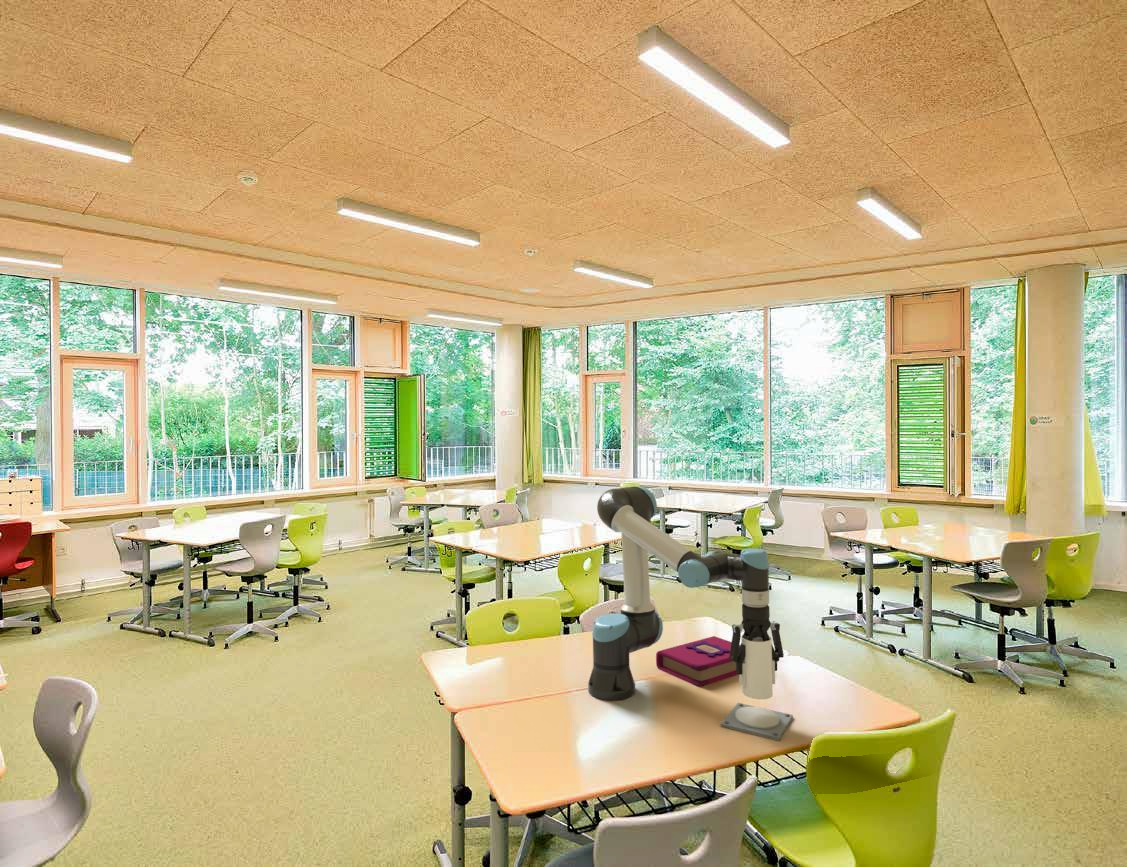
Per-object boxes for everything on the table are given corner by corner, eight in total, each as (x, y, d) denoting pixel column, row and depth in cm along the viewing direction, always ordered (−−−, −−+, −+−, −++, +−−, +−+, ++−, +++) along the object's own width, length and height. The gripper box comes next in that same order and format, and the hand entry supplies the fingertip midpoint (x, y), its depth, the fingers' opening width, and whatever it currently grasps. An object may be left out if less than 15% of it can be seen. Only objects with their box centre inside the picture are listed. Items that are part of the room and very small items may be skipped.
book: (655, 669, 221) (655, 647, 221) (711, 653, 237) (711, 633, 237) (699, 689, 204) (699, 665, 204) (756, 670, 219) (756, 648, 219)
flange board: (720, 726, 176) (720, 720, 176) (738, 705, 190) (738, 699, 190) (779, 740, 168) (778, 734, 168) (792, 717, 181) (792, 711, 181)
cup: (778, 695, 177) (777, 638, 177) (759, 701, 173) (757, 643, 173) (755, 685, 184) (754, 631, 184) (736, 691, 180) (735, 636, 180)
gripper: (727, 610, 173) (728, 692, 173) (796, 604, 177) (798, 685, 177) (715, 603, 181) (717, 682, 180) (782, 598, 185) (783, 675, 184)
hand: (757, 683), depth 179 cm, fingers closed on cup, 8 cm apart
